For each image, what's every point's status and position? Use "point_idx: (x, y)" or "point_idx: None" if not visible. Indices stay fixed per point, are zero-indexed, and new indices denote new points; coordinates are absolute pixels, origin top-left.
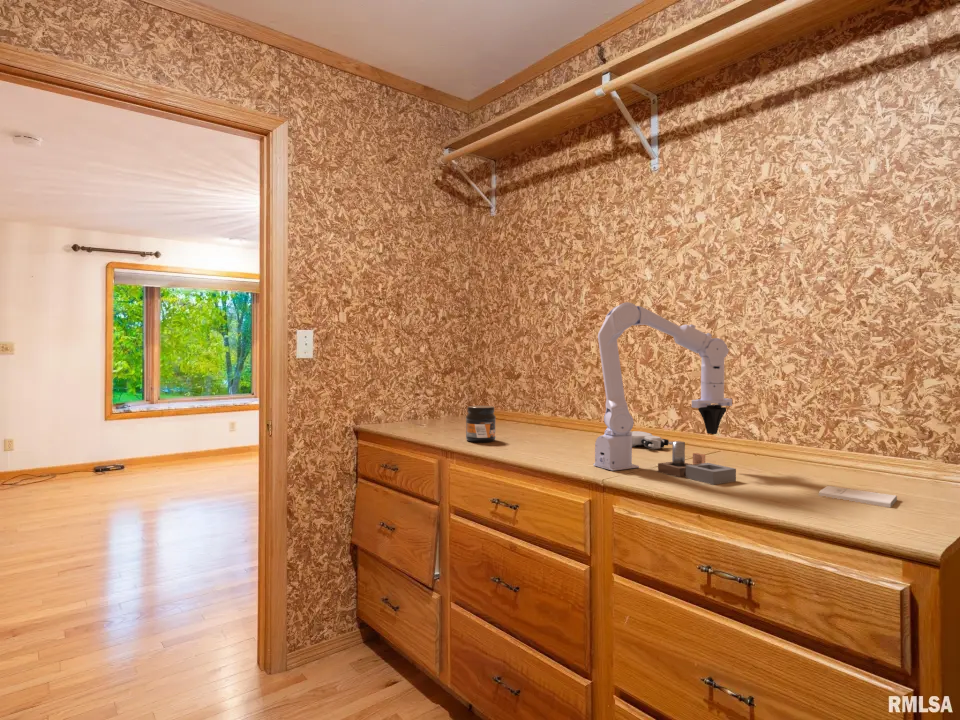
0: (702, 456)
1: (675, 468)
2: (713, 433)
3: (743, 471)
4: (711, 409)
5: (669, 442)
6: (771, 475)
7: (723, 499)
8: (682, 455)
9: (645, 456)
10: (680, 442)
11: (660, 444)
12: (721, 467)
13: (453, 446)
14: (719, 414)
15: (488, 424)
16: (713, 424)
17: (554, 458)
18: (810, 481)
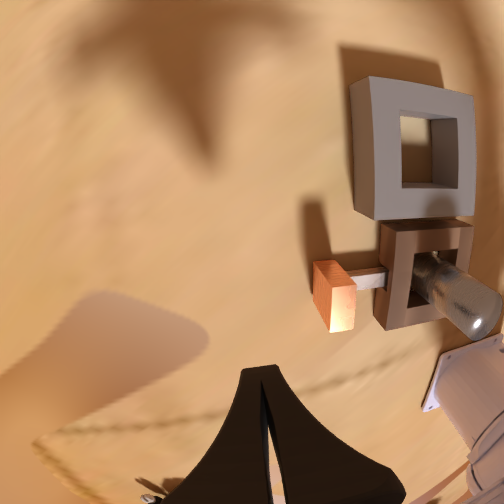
0: (349, 281)
1: (470, 242)
2: (277, 368)
3: (164, 198)
4: (403, 499)
5: (153, 500)
6: (121, 102)
7: (497, 22)
8: (462, 271)
9: None
10: (488, 307)
11: None
12: (399, 125)
13: (466, 488)
14: (263, 475)
15: None
16: (303, 408)
17: (461, 441)
18: (91, 2)
